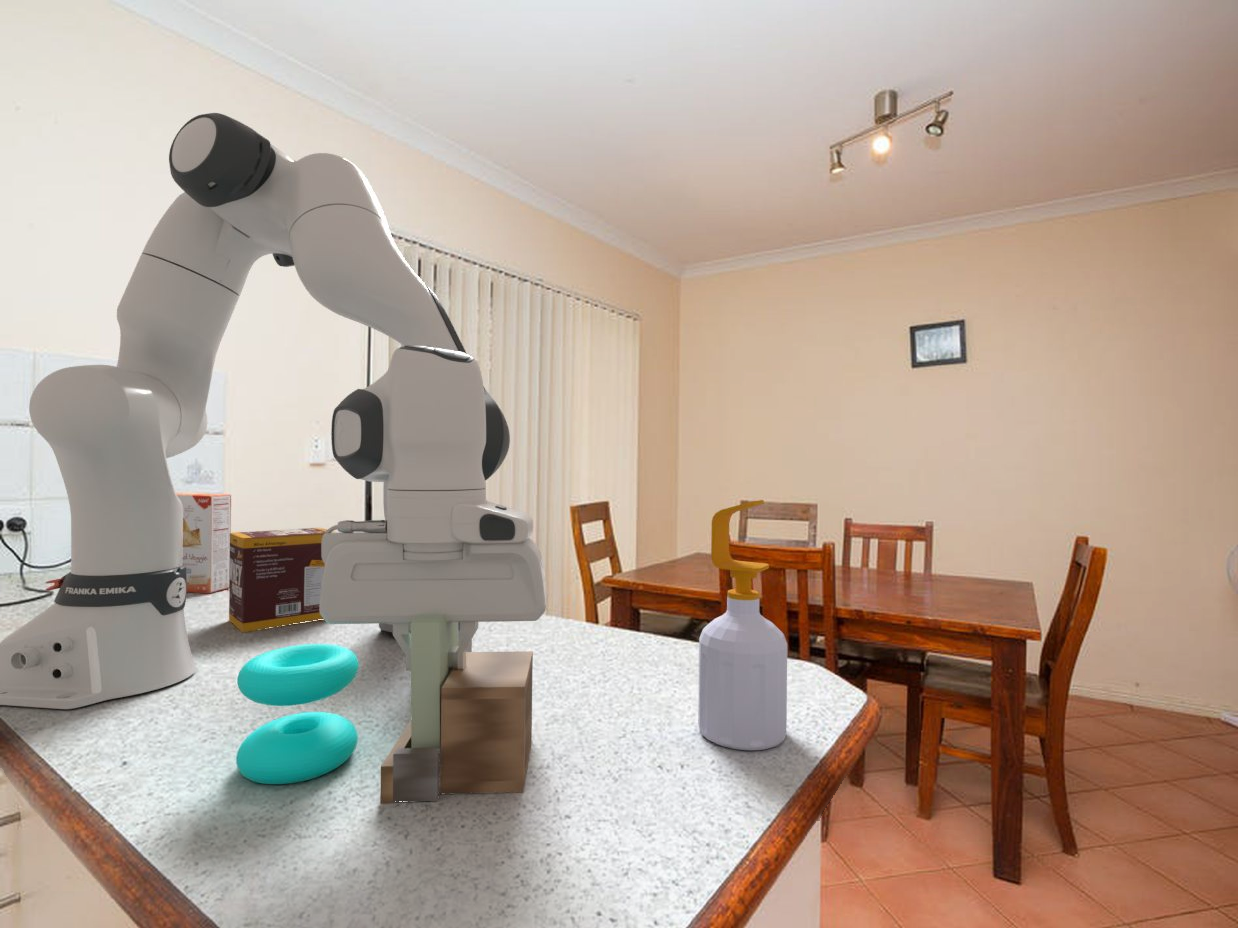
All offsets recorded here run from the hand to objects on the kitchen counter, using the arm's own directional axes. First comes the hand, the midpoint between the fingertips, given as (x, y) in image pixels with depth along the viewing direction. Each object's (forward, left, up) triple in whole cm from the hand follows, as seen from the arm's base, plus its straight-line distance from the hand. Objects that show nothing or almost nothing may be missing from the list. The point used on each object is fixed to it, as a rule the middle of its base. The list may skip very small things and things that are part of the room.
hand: (437, 668), depth 57 cm
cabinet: (+3, 0, -9) cm, 9 cm away
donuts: (-13, +1, -9) cm, 16 cm away
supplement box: (-39, +55, -9) cm, 68 cm away
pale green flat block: (0, 0, -5) cm, 6 cm away
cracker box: (-70, +81, -9) cm, 107 cm away
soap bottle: (+30, +5, -9) cm, 32 cm away
